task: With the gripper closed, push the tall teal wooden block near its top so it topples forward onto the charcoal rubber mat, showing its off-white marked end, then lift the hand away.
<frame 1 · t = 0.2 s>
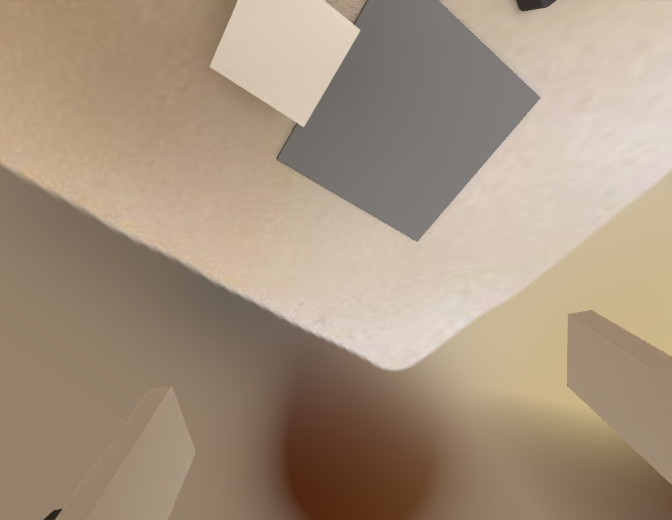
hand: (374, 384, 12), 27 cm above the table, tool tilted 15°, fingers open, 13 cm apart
block: (286, 40, 30), on the table
mat: (406, 127, 34), on the table
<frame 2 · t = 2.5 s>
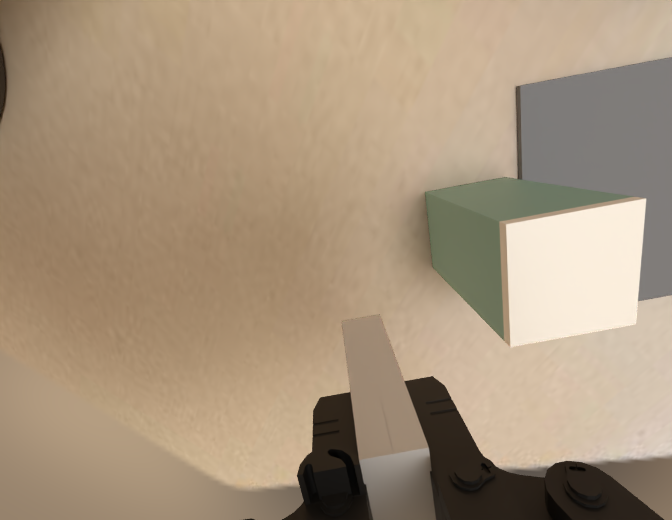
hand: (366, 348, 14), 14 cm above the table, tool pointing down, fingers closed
block: (467, 223, 28), on the table
mat: (635, 192, 27), on the table
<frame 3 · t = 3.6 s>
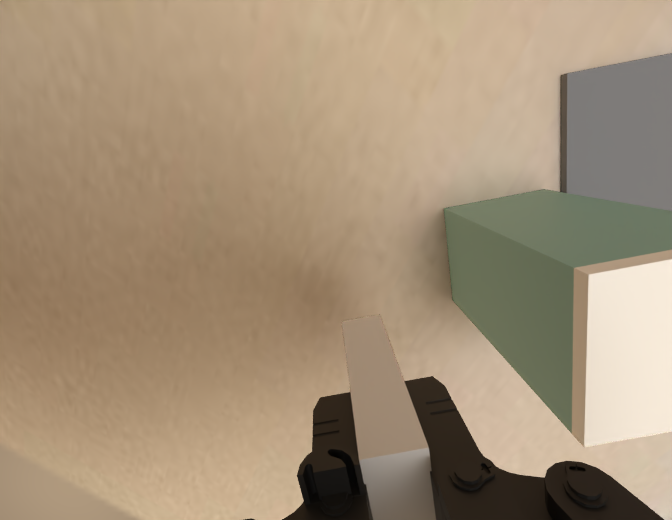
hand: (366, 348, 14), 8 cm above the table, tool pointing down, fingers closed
block: (496, 247, 22), on the table
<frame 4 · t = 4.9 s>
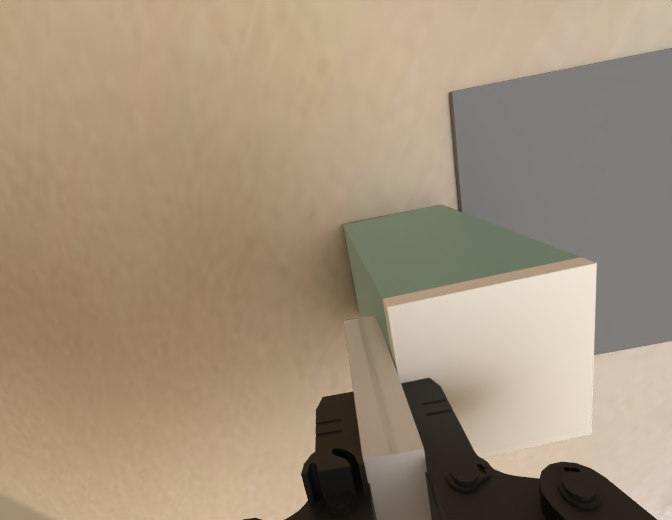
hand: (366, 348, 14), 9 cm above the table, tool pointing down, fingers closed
block: (398, 261, 22), on the table, touching gripper
mat: (607, 221, 22), on the table
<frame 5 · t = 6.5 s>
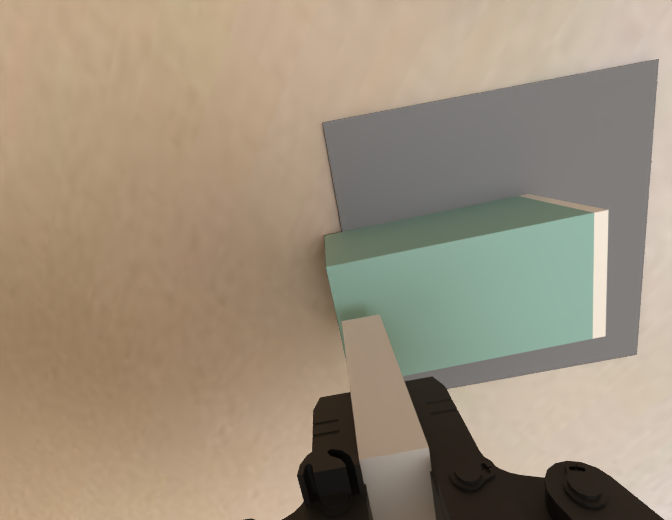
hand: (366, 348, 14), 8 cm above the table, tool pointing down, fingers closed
block: (336, 302, 19), point 3 cm above the table, tilted 90°, touching mat
mat: (494, 249, 22), on the table
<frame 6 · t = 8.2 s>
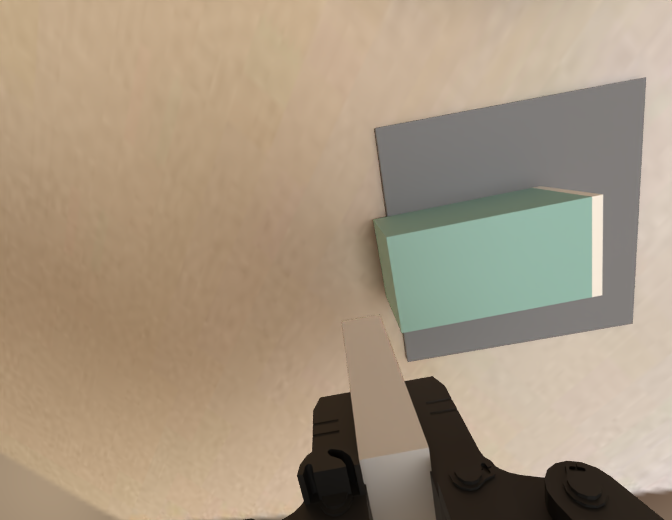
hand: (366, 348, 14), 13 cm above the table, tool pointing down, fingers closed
block: (386, 271, 24), point 3 cm above the table, tilted 90°, touching mat
mat: (511, 232, 27), on the table
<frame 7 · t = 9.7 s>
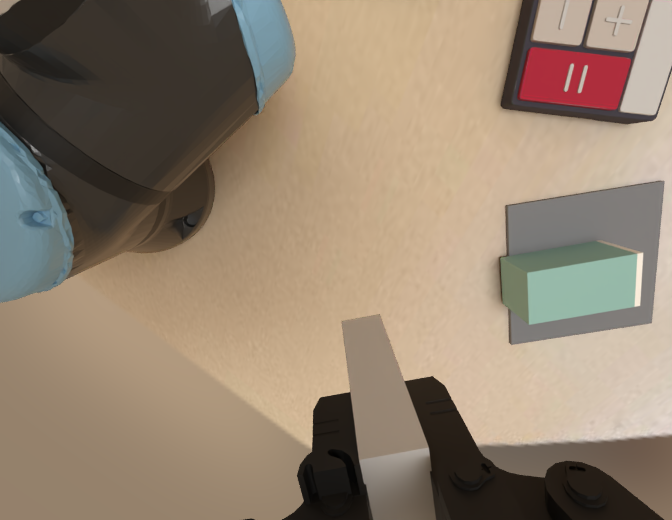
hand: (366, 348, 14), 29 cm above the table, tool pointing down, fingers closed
block: (513, 289, 41), point 3 cm above the table, tilted 90°, touching mat
mat: (580, 266, 44), on the table
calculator: (576, 62, 39), on the table
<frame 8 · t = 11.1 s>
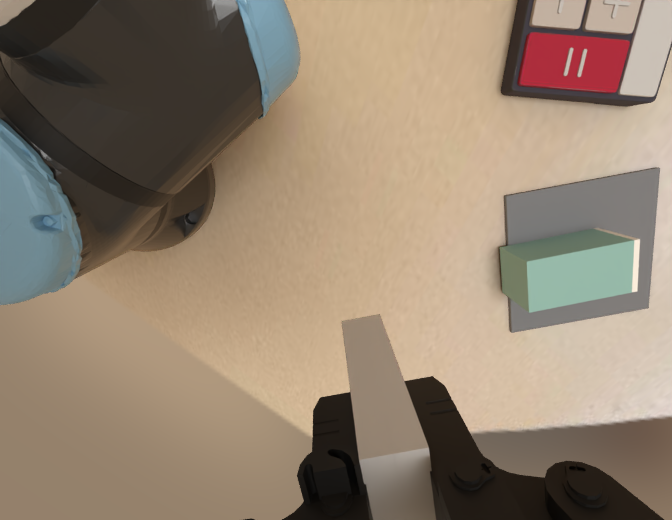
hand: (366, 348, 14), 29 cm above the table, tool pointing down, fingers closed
block: (513, 278, 42), point 3 cm above the table, tilted 90°, touching mat
mat: (578, 254, 45), on the table
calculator: (574, 46, 39), on the table
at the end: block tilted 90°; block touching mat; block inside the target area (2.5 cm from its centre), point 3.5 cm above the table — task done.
